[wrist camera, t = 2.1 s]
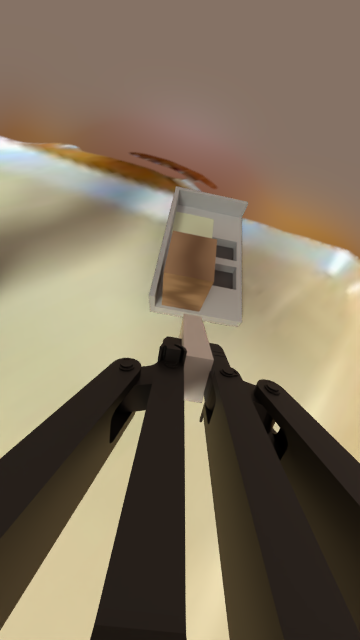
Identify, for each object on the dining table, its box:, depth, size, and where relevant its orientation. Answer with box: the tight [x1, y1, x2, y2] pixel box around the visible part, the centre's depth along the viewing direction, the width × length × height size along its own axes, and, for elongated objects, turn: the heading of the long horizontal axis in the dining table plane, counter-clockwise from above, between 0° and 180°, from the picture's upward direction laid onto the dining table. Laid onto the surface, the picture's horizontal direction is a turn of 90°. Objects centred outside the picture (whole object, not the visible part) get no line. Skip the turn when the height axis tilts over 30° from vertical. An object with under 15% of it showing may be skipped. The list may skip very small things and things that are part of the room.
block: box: [162, 231, 217, 312], centre depth 26 cm, size 6×7×8 cm
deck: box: [149, 186, 248, 327], centre depth 33 cm, size 15×26×5 cm, turn 172°
